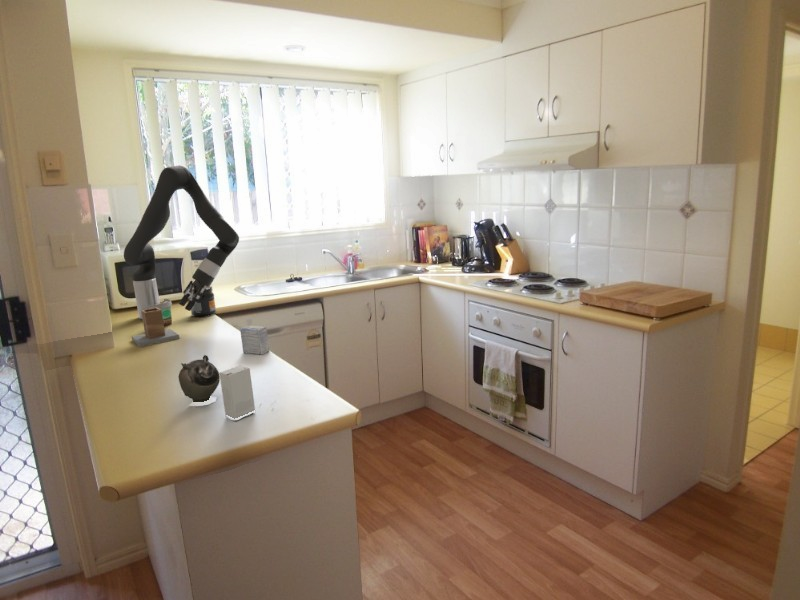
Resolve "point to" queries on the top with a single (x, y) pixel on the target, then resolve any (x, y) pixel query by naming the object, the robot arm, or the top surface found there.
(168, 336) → the post base
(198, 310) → the supplement container
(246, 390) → the skincare box
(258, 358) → the top surface
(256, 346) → the medicine box
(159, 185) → the robot arm
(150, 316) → the walnut sleeve
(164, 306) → the food container
